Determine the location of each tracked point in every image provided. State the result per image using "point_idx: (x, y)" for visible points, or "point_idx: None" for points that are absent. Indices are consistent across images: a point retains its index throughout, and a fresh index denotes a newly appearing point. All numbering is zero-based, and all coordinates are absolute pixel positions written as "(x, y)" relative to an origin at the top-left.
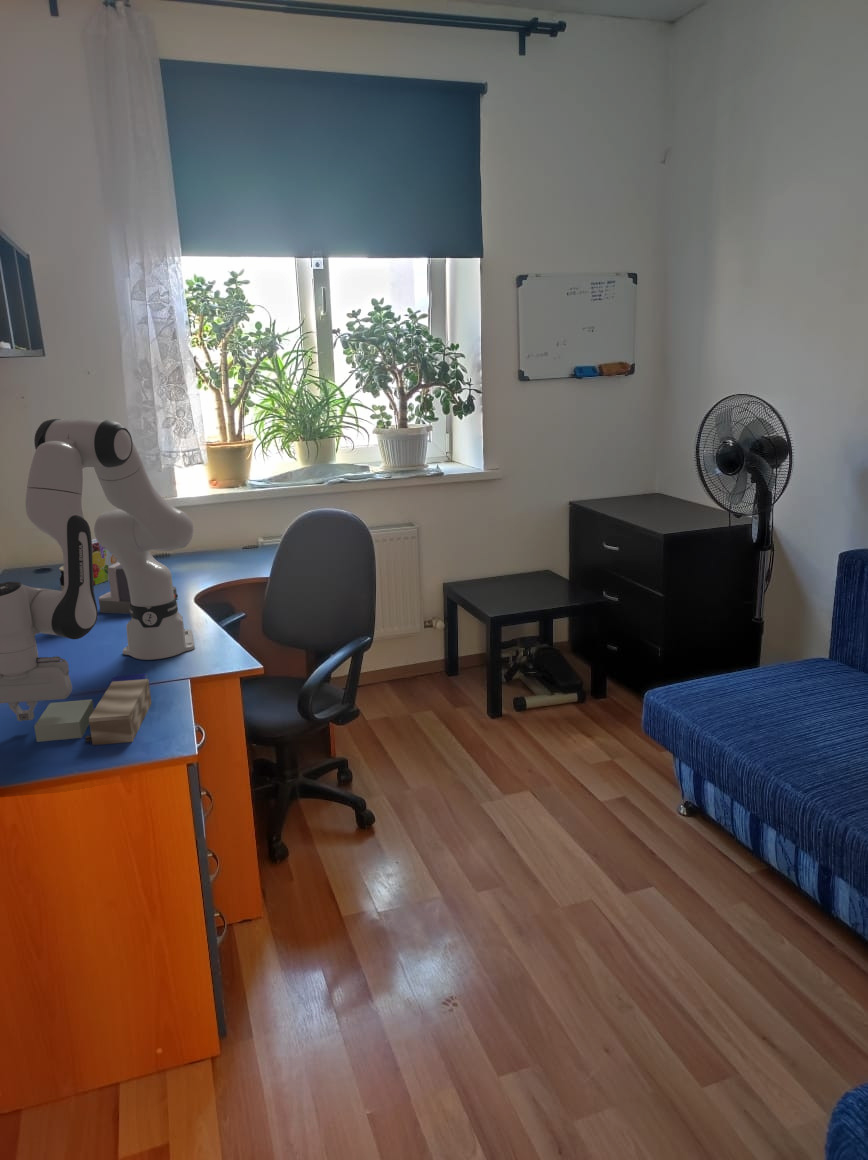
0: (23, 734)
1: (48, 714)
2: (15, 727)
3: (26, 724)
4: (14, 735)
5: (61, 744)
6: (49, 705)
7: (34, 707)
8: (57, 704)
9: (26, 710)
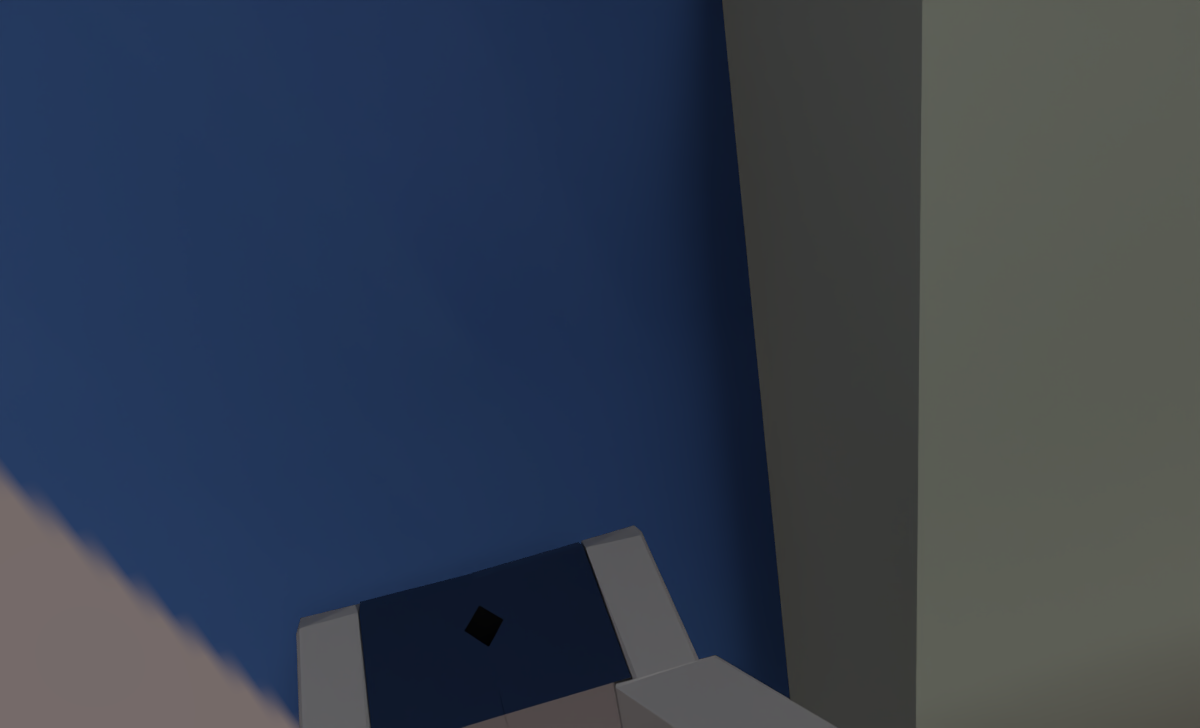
0: None
1: (1057, 607)
2: (57, 372)
3: (223, 212)
4: None
5: None
6: (959, 112)
7: (778, 706)
8: (1192, 23)
9: (527, 723)
